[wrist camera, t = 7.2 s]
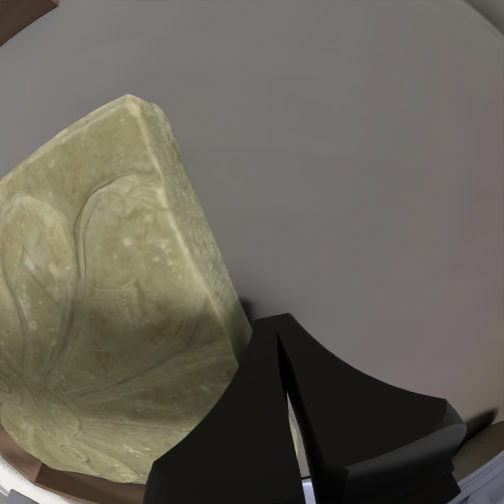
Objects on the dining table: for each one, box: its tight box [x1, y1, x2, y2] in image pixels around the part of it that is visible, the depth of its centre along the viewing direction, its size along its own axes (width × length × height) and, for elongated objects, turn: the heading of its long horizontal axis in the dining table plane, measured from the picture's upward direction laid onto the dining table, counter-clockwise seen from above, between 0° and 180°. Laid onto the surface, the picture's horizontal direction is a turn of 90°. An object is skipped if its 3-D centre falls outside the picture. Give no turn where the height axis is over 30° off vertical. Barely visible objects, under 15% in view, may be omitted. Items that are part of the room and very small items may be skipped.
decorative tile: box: [0, 94, 298, 483], centre depth 11 cm, size 18×20×4 cm
